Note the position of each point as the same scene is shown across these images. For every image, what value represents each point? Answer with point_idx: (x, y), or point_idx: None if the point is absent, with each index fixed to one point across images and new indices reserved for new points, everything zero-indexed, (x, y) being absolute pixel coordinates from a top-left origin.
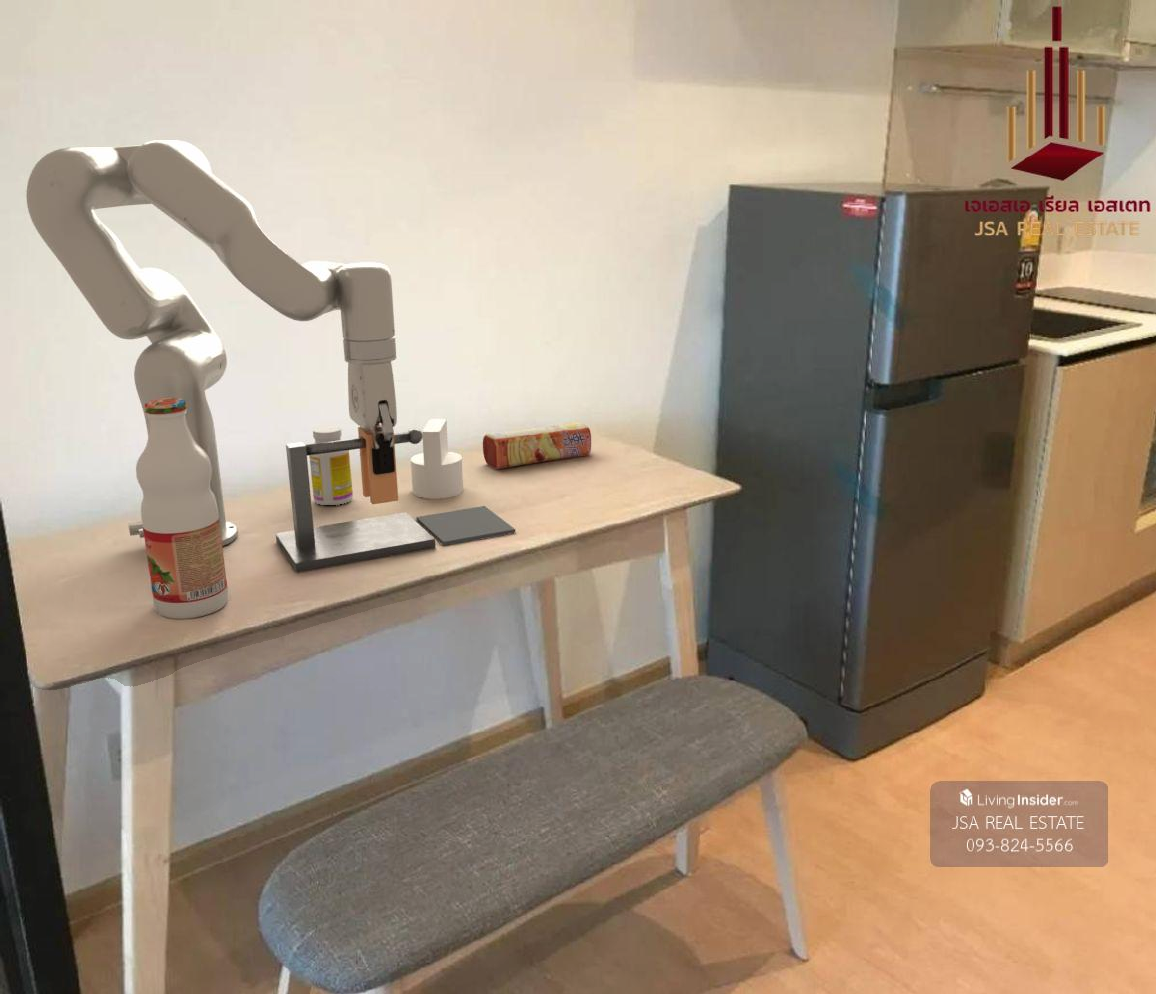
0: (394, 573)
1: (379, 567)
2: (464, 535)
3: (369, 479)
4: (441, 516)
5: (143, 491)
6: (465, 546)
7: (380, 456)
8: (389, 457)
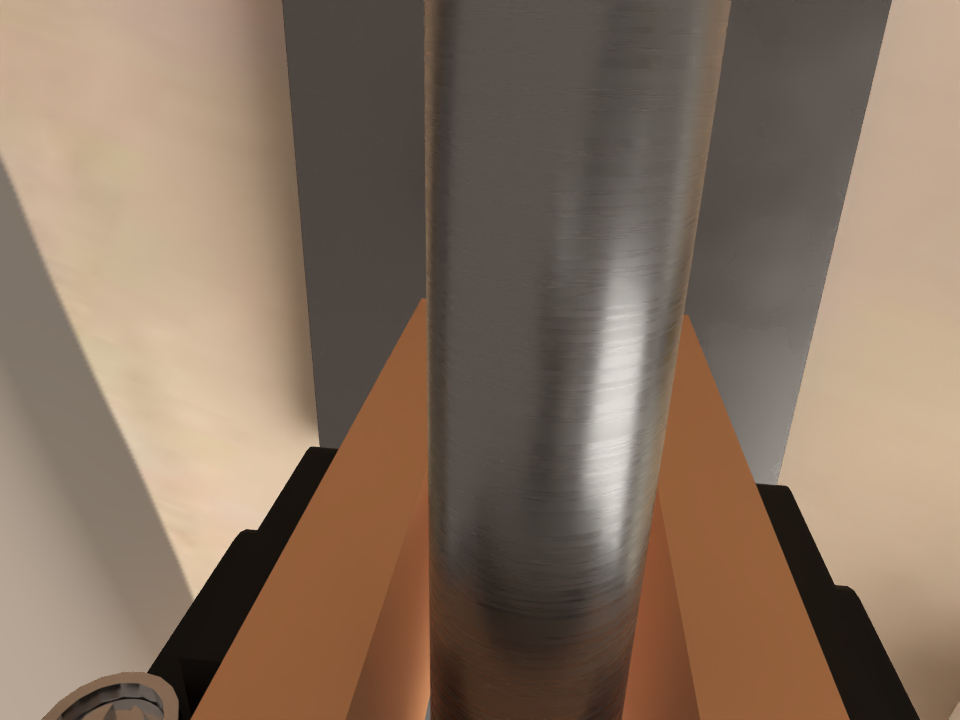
0: (98, 177)
1: (196, 138)
2: None
3: (425, 386)
4: None
5: None
6: None
7: (175, 636)
8: None
